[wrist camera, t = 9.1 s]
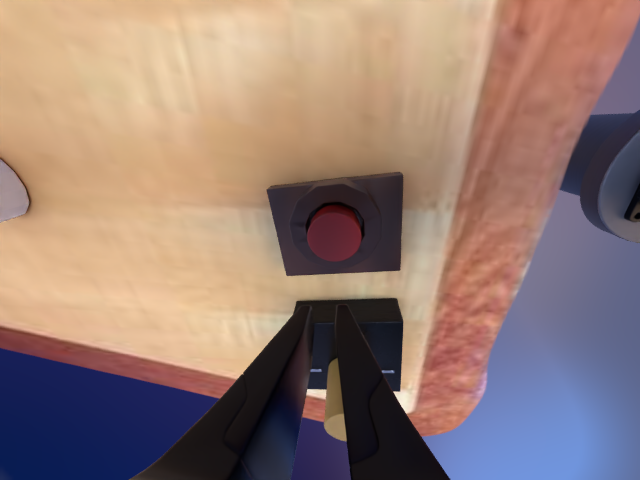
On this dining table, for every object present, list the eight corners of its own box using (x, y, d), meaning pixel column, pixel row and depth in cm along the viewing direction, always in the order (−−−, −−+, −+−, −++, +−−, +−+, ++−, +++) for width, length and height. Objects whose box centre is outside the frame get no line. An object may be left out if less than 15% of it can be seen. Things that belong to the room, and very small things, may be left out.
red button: (358, 202, 15) (360, 210, 14) (361, 248, 17) (362, 260, 16) (307, 206, 16) (303, 215, 14) (314, 251, 18) (311, 263, 16)
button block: (399, 168, 17) (410, 176, 14) (397, 263, 20) (405, 284, 18) (270, 182, 18) (257, 192, 16) (289, 268, 22) (281, 288, 19)
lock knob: (359, 388, 24) (362, 452, 19) (321, 374, 24) (315, 436, 19) (380, 365, 22) (389, 430, 17) (339, 349, 22) (337, 412, 17)
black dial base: (396, 298, 22) (404, 323, 19) (394, 369, 27) (400, 398, 24) (296, 300, 24) (289, 324, 21) (311, 368, 28) (307, 395, 25)
